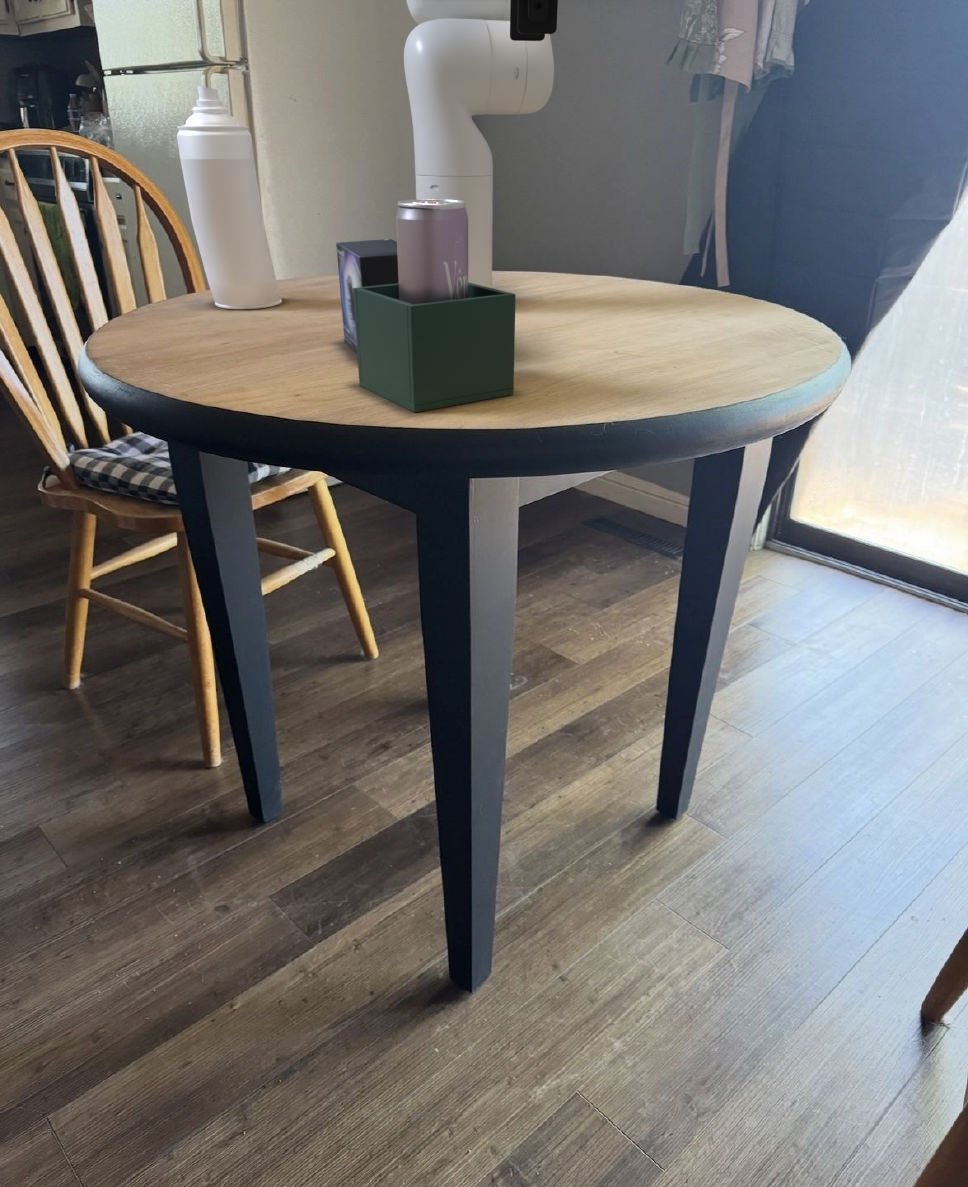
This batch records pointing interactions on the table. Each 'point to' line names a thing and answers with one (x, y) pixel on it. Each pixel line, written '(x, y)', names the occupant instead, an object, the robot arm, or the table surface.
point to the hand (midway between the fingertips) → (531, 37)
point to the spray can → (226, 206)
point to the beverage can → (432, 250)
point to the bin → (435, 346)
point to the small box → (363, 275)
